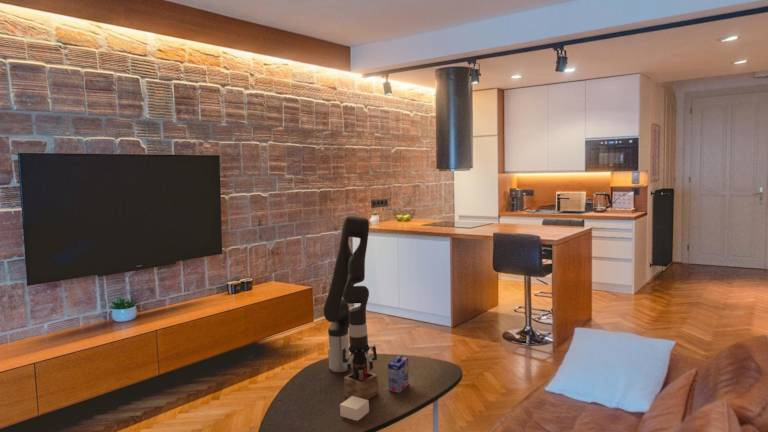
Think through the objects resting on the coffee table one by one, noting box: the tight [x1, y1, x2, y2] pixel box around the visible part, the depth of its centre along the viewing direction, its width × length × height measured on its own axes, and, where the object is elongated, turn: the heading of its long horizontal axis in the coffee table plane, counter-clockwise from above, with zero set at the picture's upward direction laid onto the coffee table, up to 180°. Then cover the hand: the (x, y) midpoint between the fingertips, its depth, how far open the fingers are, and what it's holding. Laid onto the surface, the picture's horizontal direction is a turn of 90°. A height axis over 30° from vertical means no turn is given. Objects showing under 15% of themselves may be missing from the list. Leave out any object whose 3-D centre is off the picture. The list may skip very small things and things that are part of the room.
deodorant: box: [351, 350, 368, 382], centre depth 221 cm, size 6×6×15 cm
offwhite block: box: [339, 396, 370, 422], centre depth 207 cm, size 8×8×5 cm
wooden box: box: [343, 370, 379, 400], centre depth 223 cm, size 10×10×8 cm
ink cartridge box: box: [387, 354, 409, 394], centre depth 227 cm, size 10×6×14 cm, turn 152°
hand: (360, 370), depth 222 cm, fingers open, 8 cm apart
